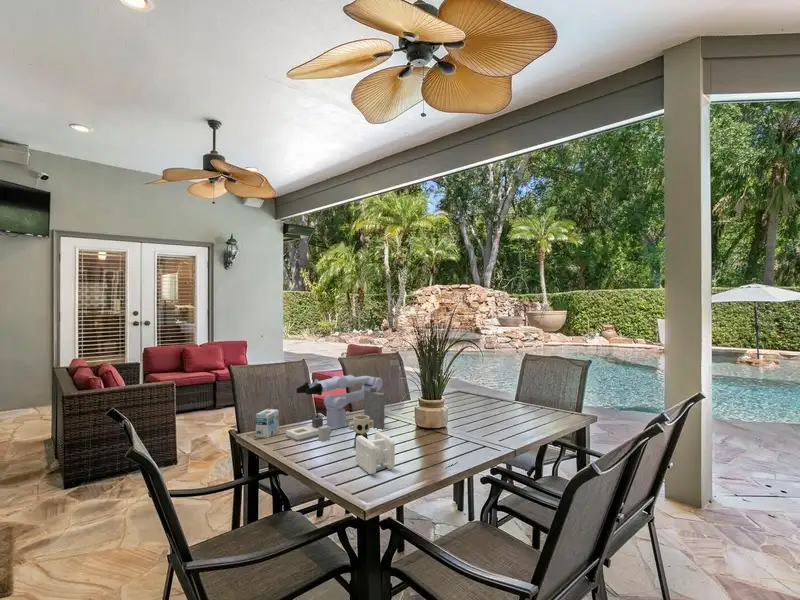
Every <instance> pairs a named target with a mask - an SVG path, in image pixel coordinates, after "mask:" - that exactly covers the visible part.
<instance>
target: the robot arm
mask: <svg viewBox="0 0 800 600" xmlns="http://www.w3.org/2000/svg"><path fill="white" fill-rule="evenodd" d="M383 382H384V381H383V379H382V378H381V377H376V376H370V375H361V376H354V375H352V374H348V375H343V374H342V375H341V376H337V375H333V376H332V377H331V378H327V379H323V380H319V379H317V378H316V379H314V381H313V382H311V383H310V384H309V382H303V384H302V385H300V386H299V387H297V388H296V394H306V395H317V396H322V394H323V393H325V392H330V391H333V390H336V389H337V390H338V389H342V390H344V389H346V388H350V387H355V385H356V384H357V385H358V384H362V386H361V389H359V390H356V391H352V392H347V393H342V394H333V395H332V394H327V395H325V397H324V399H323V405H324V406H325V409H326V424H324V425H325V426H329V427H331V429H330V430H332V431H333V430H336V429H341V428H344V427H345V428H346V427H348V424H347V411H346V409H345V408H344V407H347V405H348V404H353V403H356V402H358V401H362V400H363V401H364V390H365V389H370V387H377V389H376V392H379V391H381V389H382V386H383V384H384V383H383Z"/></svg>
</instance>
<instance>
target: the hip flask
mask: <svg viewBox="0 0 800 600" xmlns="http://www.w3.org/2000/svg"><path fill="white" fill-rule="evenodd" d="M376 389H377V387H370V389H365V390H364V399H363V401H364V402H363V403H364V407H363V411H364V412H363V413H364V414H363V415H366V416H369V418H370V419H369V420H373V428H372V429H375V428H377V429H376V430H378V429H384V430H385V401H386V400H385V393H384V392H383V393H382V392H379V391H377V392H376ZM369 426H371V422H369Z"/></svg>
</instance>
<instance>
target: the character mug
mask: <svg viewBox="0 0 800 600" xmlns="http://www.w3.org/2000/svg"><path fill="white" fill-rule="evenodd" d="M369 419H370V418H369V416H366V415H364V414H358V415H354V416H353V417H352V420H353V421H350V422H349V423H348V429H349V430H350V431H351V430H352V431H353V433H355V434H354V435H355V436H354V442H353V446H354V447H355V448H356V437H357V436H361V435H362V436H363V437H365V438H366V439H368V438H369V437H368V434H367V433H369V431H370V428H372V427H373V420H369ZM369 422H371V426H369ZM352 425H353V426H352ZM372 429H373V428H372ZM368 440H369V439H368Z"/></svg>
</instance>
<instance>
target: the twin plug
mask: <svg viewBox="0 0 800 600" xmlns="http://www.w3.org/2000/svg"><path fill="white" fill-rule="evenodd" d="M323 423H324V418H323V417H320V416H317V417H314V418H312V419H311V425H312V427H314V428H319V427H322V426H323V425H324V424H323Z"/></svg>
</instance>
